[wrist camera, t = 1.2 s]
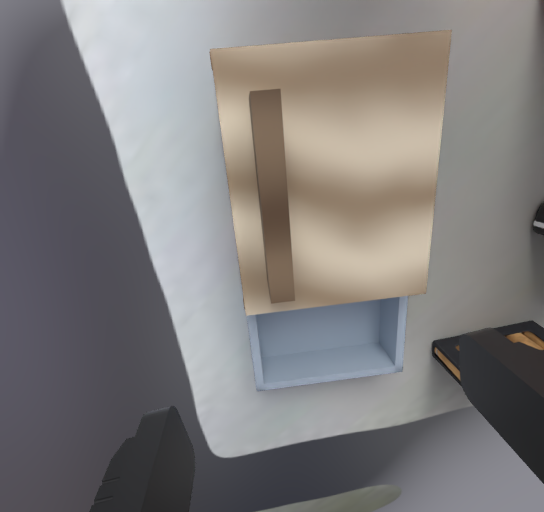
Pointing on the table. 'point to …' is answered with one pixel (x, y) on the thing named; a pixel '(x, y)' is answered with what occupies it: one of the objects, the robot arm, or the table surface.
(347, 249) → the lid
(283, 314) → the tub
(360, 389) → the table surface
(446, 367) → the ammunition clip
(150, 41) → the table surface
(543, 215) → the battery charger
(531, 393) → the robot arm
